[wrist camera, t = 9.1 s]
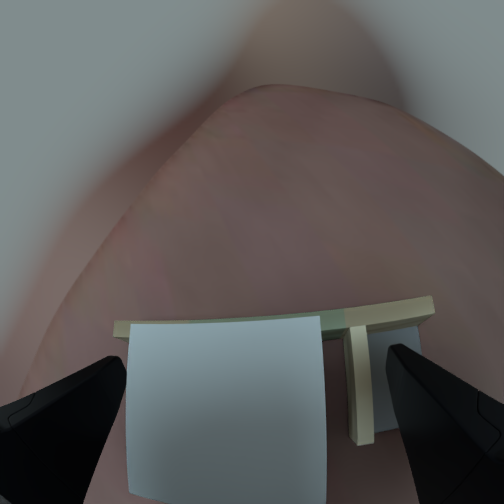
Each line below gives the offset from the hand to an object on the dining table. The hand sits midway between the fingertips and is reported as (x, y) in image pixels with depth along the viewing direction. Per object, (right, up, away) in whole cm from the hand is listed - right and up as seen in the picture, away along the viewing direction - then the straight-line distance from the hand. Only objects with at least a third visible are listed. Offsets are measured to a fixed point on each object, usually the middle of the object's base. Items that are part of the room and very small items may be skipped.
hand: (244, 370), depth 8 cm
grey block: (+1, -5, +6) cm, 8 cm away
